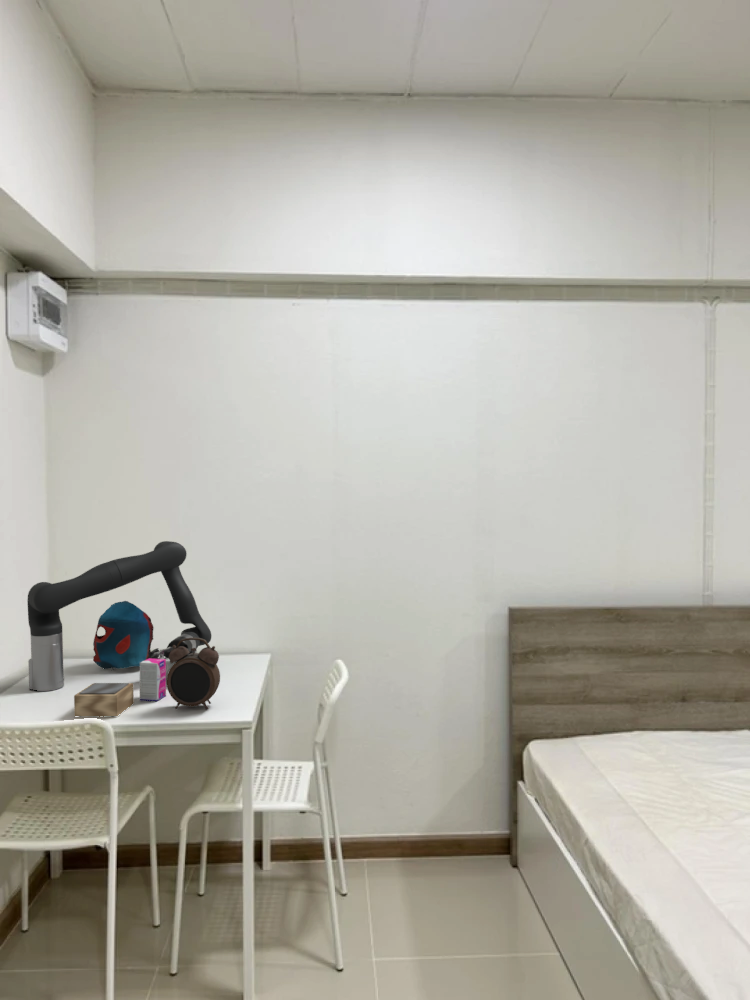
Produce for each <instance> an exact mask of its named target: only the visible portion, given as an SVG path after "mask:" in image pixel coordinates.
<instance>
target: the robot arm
mask: <svg viewBox="0 0 750 1000" xmlns="http://www.w3.org/2000/svg"><path fill="white" fill-rule="evenodd" d="M187 555H188V554H187V549H186V548H185V547H184V545H182V544H180V543H178V542H177V541H170V540H169V541H168V540H166V541H165V540H164V541H160V542H159V543H157V544H156V545H155V547H154V548H153V550H151V551H150V552H146V553H143V554H142V553H141V554H138V555H131V556H130V555H129V556H125V557H120V558H116V559H113V560H108V561H106V562H103V563H101V564H98V565H96V566H93V567H92V568H89V569H88V570H86V571H84V572H83V573H82V574H80V575H77V576H76V577H74V578H71V579H66V580H63V581H59V582H55V583H51V582H48V581H47V582H46V581H41V582H37V583H36V584H34V585H32V586H31V588H30V589H29V591H28V593H27V599H26V601H27V619H28V620H27V621H28V627H29V630H30V654H31V655H30V656H31V657H30V658H29V659H28V661H27V662H28V690H29V689H33V690H32V691H34V690H37V691H36V692H48V691H54V690H59V689H61V688H63V687H64V686H65V683H64V681H65V677H64V674H65V673H64V645H63V643H64V641H63V640H64V639H63V635H64V634H63V623H62V620H61V617H60V610H61V609H63V608H66V607H68V606H69V605H71V604H75V603H76V602H79V601H81V600H83V599H86V598H90V597H93V596H97V595H100V594H103V593H107V592H109V591H112V590H116V589H119V588H121V587H125V585H128V584H131V583H133V582H135V581H138V580H140V579H143V578H145V577H147V576H151V575H153V574H157V573H159V572H160V573H161V574H162V576H163V578H164V581H165V583H166V585H167V587H168V590H169V593H170V596H171V597H172V601H173V605H174V606H175V610H176V614H177V616H178V618H179V622H180V623H181V624H184V625H186V624H188V625H193V627H188V628H185V629H183V630H182V631H181V632H180V635H179V636H177V637H176V638H174V639H173V640H171V641H170V642H169V643H168V645H167V646H166V648H162V649H159V648H155V649H153V650H151V652H149V658H152V659H166V661H167V660H168V661H169V654H170V651H171V650H173V645H175V646H177V645H178V643H179V641H181V640H182V639H185V638H202V639H205V640H206V641H207V643H208V644H210V642H211V640H212V631H211V629H210V628H209V626H208V624H207V623H206V622H205V620H204V619H203V617H202V616H201V613H200V612H199V610H198V606H197V603H196V600H195V597H194V595H193V593H192V591H191V589H190V588H189V586H188V584H187V583H186V581H185V578H184V577H183V574H182V571H181V570H180V566H181V565H183V564H184V562H185V560H186V559H187ZM180 646H183V647H185V648H187V649H188V651H189V652H190V653H188V654H191V653H193V651H191V649H192V648H196V651H194V653H198V651H197V650H198V648H199V647H201V646H206V645H205V643H204V642H203V641H199V640H186V641H182V642H181V644H180V645H179V647H180ZM188 654H187V655H188ZM175 662H176V661H175ZM175 662H174V663H175Z"/></svg>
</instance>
